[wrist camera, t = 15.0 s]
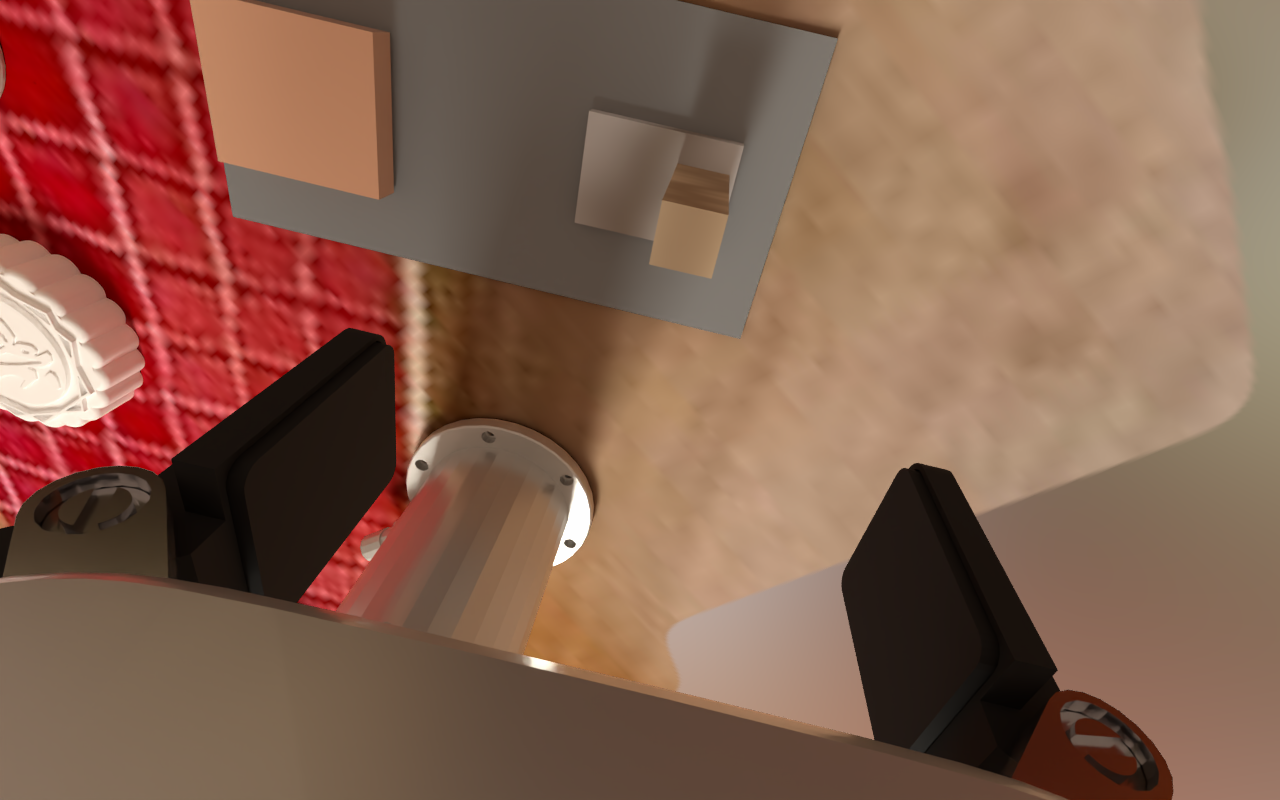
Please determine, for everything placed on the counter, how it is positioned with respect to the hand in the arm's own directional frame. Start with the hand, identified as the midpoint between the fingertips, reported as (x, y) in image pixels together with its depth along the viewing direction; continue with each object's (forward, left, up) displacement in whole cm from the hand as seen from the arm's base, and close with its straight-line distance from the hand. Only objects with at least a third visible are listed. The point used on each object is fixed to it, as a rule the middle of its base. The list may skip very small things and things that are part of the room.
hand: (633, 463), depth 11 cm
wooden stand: (-1, +1, -21) cm, 21 cm away
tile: (-11, +10, -20) cm, 25 cm away
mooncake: (-40, +11, -22) cm, 47 cm away
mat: (-7, +7, -21) cm, 23 cm away
